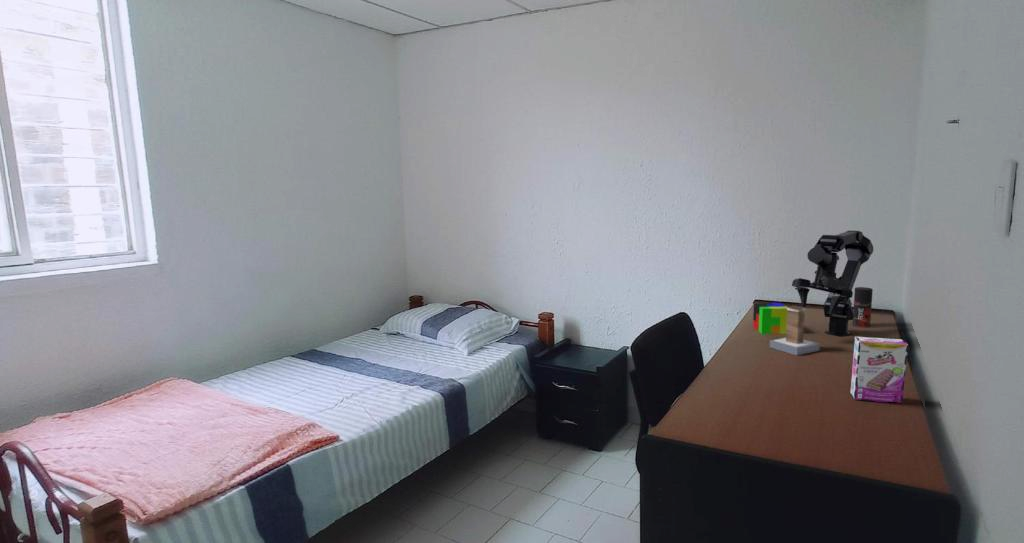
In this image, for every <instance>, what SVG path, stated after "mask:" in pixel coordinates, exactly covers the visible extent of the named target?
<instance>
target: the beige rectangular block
mask: <svg viewBox="0 0 1024 543" xmlns="http://www.w3.org/2000/svg"><path fill="white" fill-rule="evenodd" d="M787 307H788V306H787ZM805 314H806V307H805V308H802V306H795V305H792V306H789V307H788V308H787V325H786V334H785V337H786V342H791V343H795V344H798V343H801V342H803V339H804V336H805V335H804V333H805V316H806V315H805Z"/></svg>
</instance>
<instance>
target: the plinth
mask: <svg viewBox="0 0 1024 543" xmlns="http://www.w3.org/2000/svg"><path fill="white" fill-rule="evenodd" d="M820 344H821V343H819V342H815V341H812V340H808V339H803V342H801V343H798V344H795V343H791V342H786V336H785V337H781V338H776V339H770V340H769V348H770V349H774V350H777V351H780V352H781V351H782V352H784V353H788V354H791V355H794V356H800V355H806V354H809V353H814V352H815V353H816V352H818V351H820V347H821V346H820Z"/></svg>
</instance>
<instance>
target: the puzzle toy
mask: <svg viewBox="0 0 1024 543" xmlns="http://www.w3.org/2000/svg"><path fill="white" fill-rule="evenodd" d="M787 308H788V306H786V305H785V304H783V303H781V302H758V303H757V302H754V303H753V314H752V315H753V317H752V318H753V319H752V328H753V327H754V328H753V329H754V330H756V331H757V330H758V331H759V332H758V331H757V332H758V333H760V334H761V335H786V325H787Z"/></svg>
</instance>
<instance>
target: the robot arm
mask: <svg viewBox="0 0 1024 543" xmlns="http://www.w3.org/2000/svg"><path fill="white" fill-rule="evenodd" d="M843 250H845V254H846V257H847V261H846V263H845V266H844V269H843V271H842V274H841V276H839V277H837V272H836V268H837V265H838V261H839V260H840V256H839V255H838V253H839V252H841V251H843ZM873 253H874V245H873V243H872V241H871V239H870V238H868V237H867V236H865V235H864V233H863V232H862V231H860V230H847V231H844V232H842V233H841V232H840V233H838V234H822V236H820V238H819V239H818V241H817V242H816V243H815V245H814V247H812V248H811V249H810V250H808V252H807V259H808V261H809V262H811V263H812V264H813V265H814V264H815V265H817V267H816V270H815V271H814V274H815V276H814V281H812V282H811V280H810V279H805V278H802V277H800V278H794V279H793V280H792V283H791V287H794V290H796V291H797V293H798V296H799V299H800V303H801V307H802V308H805V309H806V307H807V302H808V295H809V292H810V290H811V289H813V290H817V291H821V292H826V293H828V294H827V297H826V299H825V302H824V303H823V313H824V317H825V318H829V322H828V330H825V331H824V333H825V334H830V335H834V336H838V337H844V336H849V335H852V332H850V331H848V330H849V321H853V318H854V314H855V313H854V311H853V309H854V307H852V305H853V304H852V300H851V298H853V297H854V296H853V295H854V292H853V287H854V285H855V283H856V280H857V276H858V275H859V272H860V269H861V266H862V265H863V264H864V263H866V262H868V261H869V260H870V258H871V255H872V254H873Z"/></svg>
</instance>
